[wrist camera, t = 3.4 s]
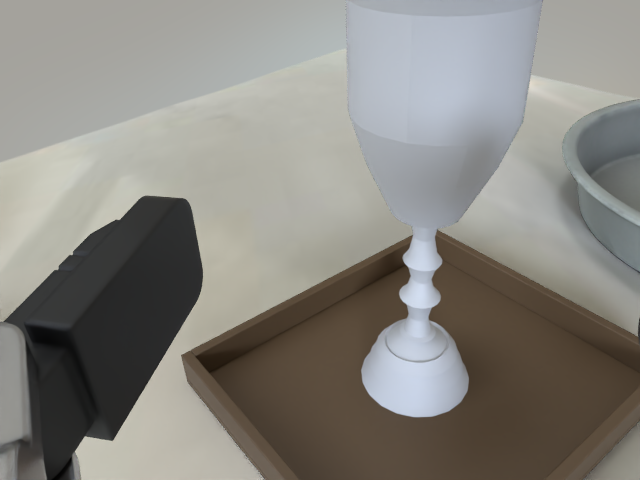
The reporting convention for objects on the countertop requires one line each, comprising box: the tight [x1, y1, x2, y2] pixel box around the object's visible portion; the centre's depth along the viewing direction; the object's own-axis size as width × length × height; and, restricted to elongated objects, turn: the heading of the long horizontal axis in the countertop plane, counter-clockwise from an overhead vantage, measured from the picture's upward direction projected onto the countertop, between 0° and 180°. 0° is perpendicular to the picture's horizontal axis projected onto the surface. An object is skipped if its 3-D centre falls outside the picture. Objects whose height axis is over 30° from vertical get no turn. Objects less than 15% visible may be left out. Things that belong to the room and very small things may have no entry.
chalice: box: [346, 0, 543, 417], centre depth 22 cm, size 7×7×18 cm
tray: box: [181, 230, 640, 480], centre depth 26 cm, size 17×15×2 cm
